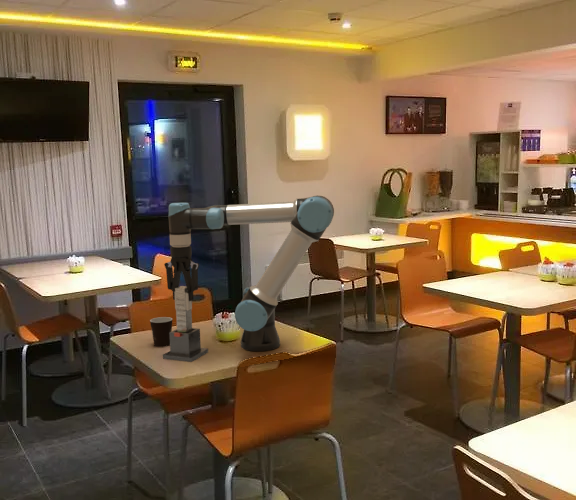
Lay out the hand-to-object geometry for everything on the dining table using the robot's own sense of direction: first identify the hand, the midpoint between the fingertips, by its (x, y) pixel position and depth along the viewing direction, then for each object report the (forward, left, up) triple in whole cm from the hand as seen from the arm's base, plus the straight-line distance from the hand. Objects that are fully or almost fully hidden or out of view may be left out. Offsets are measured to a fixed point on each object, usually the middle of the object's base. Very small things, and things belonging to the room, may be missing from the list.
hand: (183, 308), depth 226 cm
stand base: (0, 0, -18) cm, 18 cm away
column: (0, 0, -10) cm, 10 cm away
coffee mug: (+17, -11, -18) cm, 27 cm away
